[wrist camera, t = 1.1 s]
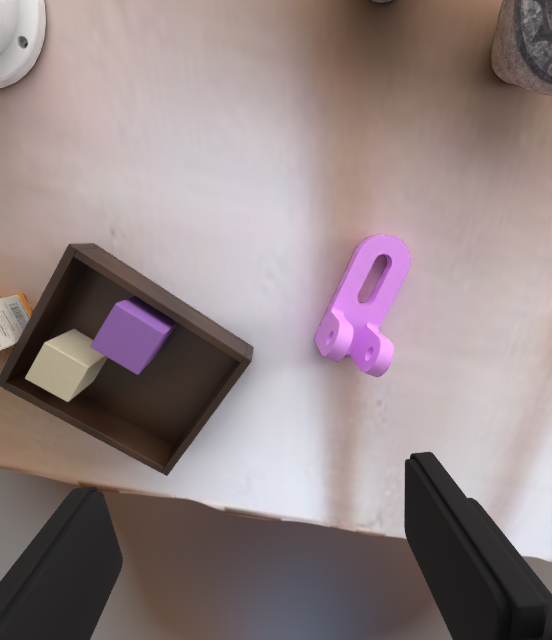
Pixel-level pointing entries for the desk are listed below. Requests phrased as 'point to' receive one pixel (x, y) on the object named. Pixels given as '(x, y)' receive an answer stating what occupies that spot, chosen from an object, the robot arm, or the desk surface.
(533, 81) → the pottery
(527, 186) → the desk surface
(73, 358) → the cream block
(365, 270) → the bracket
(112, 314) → the lavender block
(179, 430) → the wooden box
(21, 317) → the supplement box
